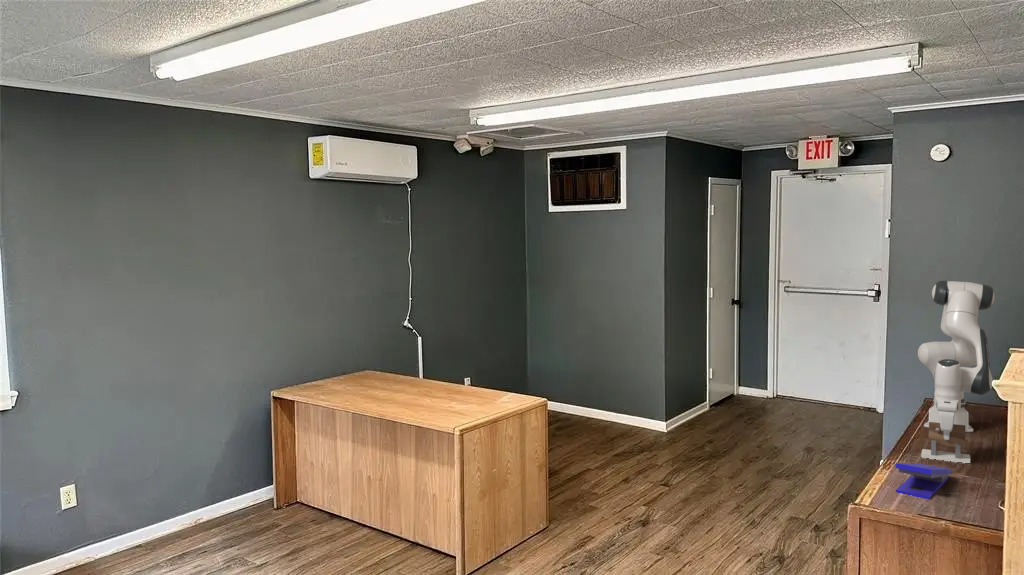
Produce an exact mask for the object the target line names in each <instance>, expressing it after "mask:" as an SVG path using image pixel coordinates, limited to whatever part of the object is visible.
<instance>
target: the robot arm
mask: <svg viewBox="0 0 1024 575" xmlns="http://www.w3.org/2000/svg"><path fill="white" fill-rule="evenodd" d="M931 297H932V299H933V300H932V301H933V302H934V303H935V304H937V305H940V306H943V310H942V316H941V320H940V321H941V322H940V330H941V331H942V333H943V334H944V335H946V336H947V337H951V338H952V339H951V340H950V341H929V342H924V343H922V344H921V345H920V346H919V347H918V350H917V357H918V359H919V361H920V362H921V363H922V364H923V365H924V366H925V367H926V368H927V369H928V370H929V371H930V373H931V374H932V376H933V383H934V395H933V399H932V402H933V403H932V404H933V406H931V407H930V408H929V410H928V420H927V422H925V423H924V424H923V427H925V428H929V422H937V423H940V427H941V430H942V431H944V439H945V440H949V434H950V432H951V431H952V429H953V424H957V425H965V433H971V432H972V433H973V432H974V428H973V426H971V425H970V424H969V422H970V420H969V412H968V410H967V409H966V408H965V406H966V405H965V400H966V398H964V397H965V396H964V395H965V393H971V394H975V395H979V396H980V395H981V396H983V395H986V394H987V393H989V392H991V390H992V389H993V386H991V382H992V381H993V375H992V373H991V366H990V354H989V344H988V338H987V335H986V332H985V329H983V328H980V326H979V323H978V318H979V311H981V310H982V311H983V310H987V309H990V308H991V306H992V305H993V304H994V302H995V291H994V289H993V287H992V286H990V285H988V284H984V283H982V284H980V283H975V282H970V281H958V280H957V281H953V280H952V281H951V280H947V279H946V280H937V282H935V284H934V286H933V288H932V290H931ZM973 366H975V367H973ZM993 382H994V381H993Z"/></svg>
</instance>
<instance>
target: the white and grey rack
mask: <svg viewBox="0 0 1024 575" xmlns="http://www.w3.org/2000/svg"><path fill="white" fill-rule="evenodd" d="M937 446H938V445H936V441H934V440H931V444H930V449H927V448H922V450H921V455H920V456H921V457H922V458H921V457H920V458H921V459H926V458H929V459H928V460H934V459H936V461H942V460H944V461H943V462H950V461H951V463H957V462H962V463H961V464H965V463H970V464H971V454H967V453H961V444H960V443H956V447H955V449H954V450H955V452H950V451H943V450H942V451H941V450H937Z"/></svg>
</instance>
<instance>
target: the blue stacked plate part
mask: <svg viewBox="0 0 1024 575" xmlns="http://www.w3.org/2000/svg"><path fill="white" fill-rule="evenodd" d="M895 469H898V473H902V474H906V475H907V474H908V475H909V477H908V478H907V479H906V480H905V481H904V482H903V483H902V484H900V485H899V486H898V487H897V488H896V489H895V493H896V492H897V493H896V494H900V493H902V494H901V495H905V494H907V495H906V496H910V495H912V496H911V497H915V496H916V497H915V498H919V497H920V498H919V499H921V498H922V499H925V500H930V499H931V498H932V497H933V496H934V495H935V493H937V491H939V490H940V488H941V487H942V486H943V485H944V484H945V483H946V482H947V481H948V480H949V476H950V475H952V474H953V469H952V468H946V467H942V466H937V465H936V466H935V465H928V464H923V463H918V462H917V463H915V462H914V463H913V462H912V463H910V462H909V463H908V462H907V463H905V462H902V463H901V462H896V463H895Z"/></svg>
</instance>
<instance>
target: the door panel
mask: <svg viewBox="0 0 1024 575" xmlns="http://www.w3.org/2000/svg"><path fill="white" fill-rule="evenodd" d="M931 440H934V441H936V445H937V446H945V447H955V448H956V443H960V444H961V448H963V449H966V432H965V425H957V424H953V429H952V431H951V432H950V434H949V440H945V439H944V431H942V430H941V427H940V423H937V422H929V427H928V442H927V443H928V444H929V445H931Z"/></svg>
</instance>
